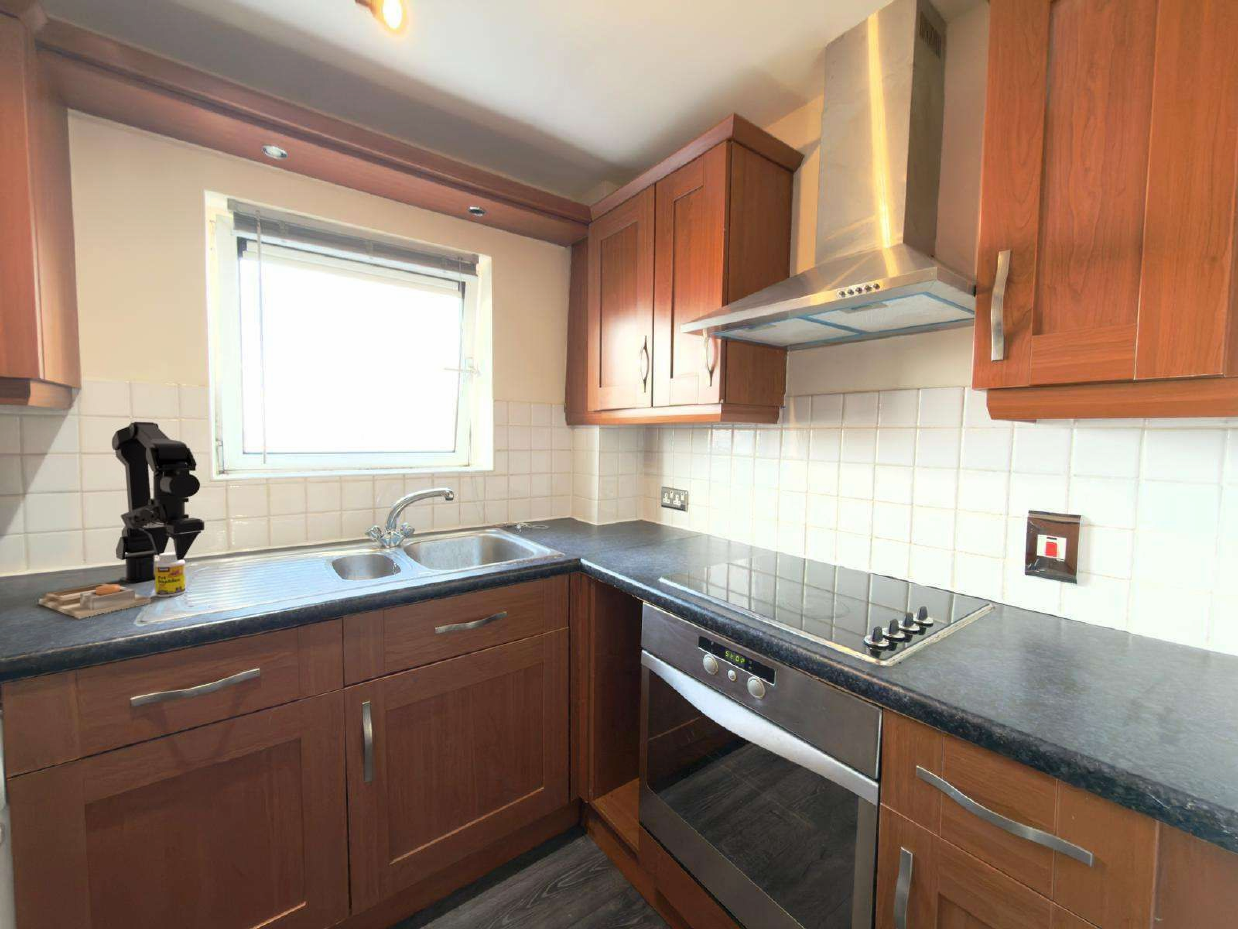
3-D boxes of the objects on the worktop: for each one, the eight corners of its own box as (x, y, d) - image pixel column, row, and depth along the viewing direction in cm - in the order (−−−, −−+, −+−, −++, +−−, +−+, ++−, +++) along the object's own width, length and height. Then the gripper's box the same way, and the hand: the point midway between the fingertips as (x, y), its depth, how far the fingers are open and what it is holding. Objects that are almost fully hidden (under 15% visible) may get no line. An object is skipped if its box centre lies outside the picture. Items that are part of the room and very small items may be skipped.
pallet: (39, 603, 116) (38, 588, 115) (109, 590, 126) (108, 576, 126) (79, 618, 107) (79, 602, 107) (150, 603, 118) (150, 587, 118)
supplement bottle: (153, 599, 121) (152, 556, 120) (157, 593, 125) (157, 552, 125) (183, 595, 124) (183, 554, 123) (187, 590, 129) (186, 550, 128)
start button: (92, 596, 113) (92, 587, 113) (115, 592, 117) (114, 583, 117) (100, 599, 112) (100, 590, 112) (123, 594, 115) (123, 585, 115)
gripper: (106, 494, 120) (107, 559, 121) (147, 500, 112) (148, 570, 113) (164, 490, 130) (165, 550, 131) (205, 496, 122) (205, 559, 123)
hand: (169, 557), depth 124 cm, fingers open, 9 cm apart
